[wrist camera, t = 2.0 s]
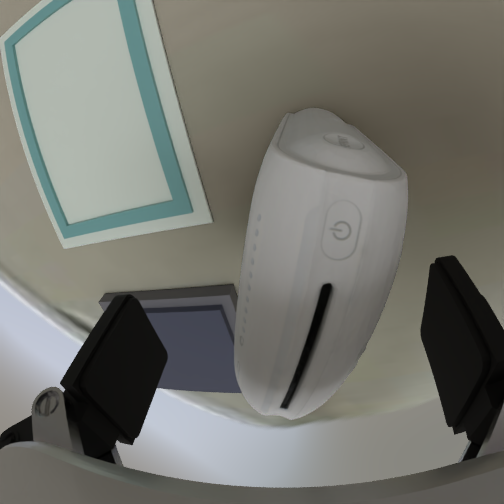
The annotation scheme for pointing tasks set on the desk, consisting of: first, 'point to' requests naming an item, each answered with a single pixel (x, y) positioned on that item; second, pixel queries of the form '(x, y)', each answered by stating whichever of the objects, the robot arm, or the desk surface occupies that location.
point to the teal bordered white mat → (101, 120)
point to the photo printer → (315, 261)
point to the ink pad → (193, 335)
